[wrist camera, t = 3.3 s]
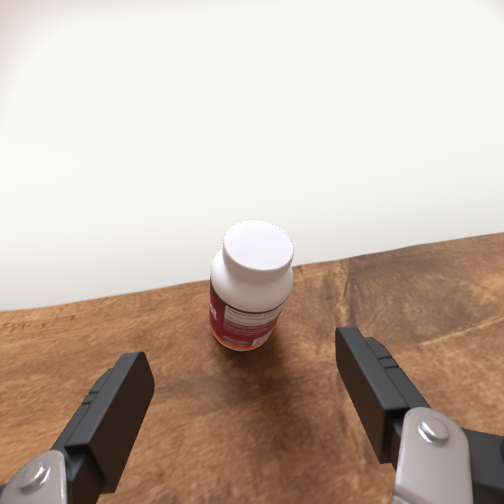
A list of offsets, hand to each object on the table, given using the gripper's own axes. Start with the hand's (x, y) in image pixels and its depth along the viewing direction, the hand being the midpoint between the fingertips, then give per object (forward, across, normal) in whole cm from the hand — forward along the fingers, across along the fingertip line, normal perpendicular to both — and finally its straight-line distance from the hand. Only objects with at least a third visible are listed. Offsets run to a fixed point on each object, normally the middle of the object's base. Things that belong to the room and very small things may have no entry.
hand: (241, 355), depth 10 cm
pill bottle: (+12, +1, +7) cm, 14 cm away
